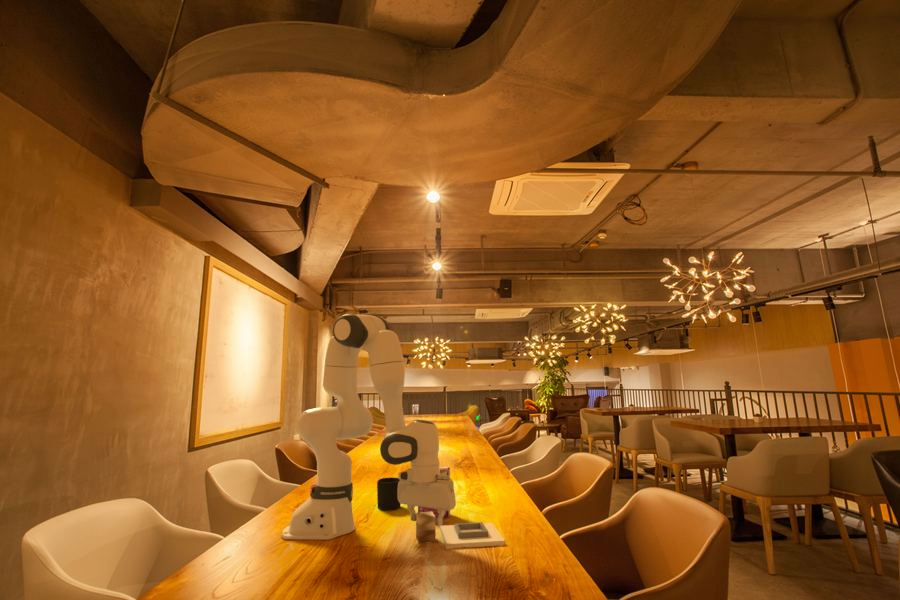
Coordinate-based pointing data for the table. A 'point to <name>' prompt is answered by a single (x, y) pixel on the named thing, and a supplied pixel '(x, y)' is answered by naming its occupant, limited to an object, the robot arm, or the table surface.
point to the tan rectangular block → (425, 527)
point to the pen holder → (388, 494)
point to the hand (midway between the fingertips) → (426, 522)
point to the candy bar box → (443, 472)
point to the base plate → (471, 535)
